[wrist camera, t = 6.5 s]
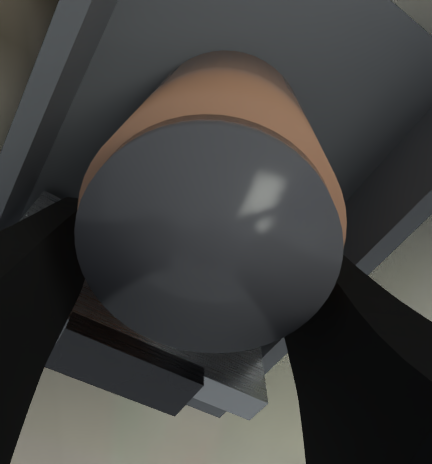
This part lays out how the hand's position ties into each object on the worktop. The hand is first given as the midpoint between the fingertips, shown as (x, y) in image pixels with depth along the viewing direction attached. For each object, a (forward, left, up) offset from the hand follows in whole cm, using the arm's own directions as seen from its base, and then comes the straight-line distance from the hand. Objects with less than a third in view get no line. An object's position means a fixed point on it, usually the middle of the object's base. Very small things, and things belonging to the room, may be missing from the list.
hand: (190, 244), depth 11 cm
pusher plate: (0, +3, -4) cm, 5 cm away
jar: (0, -2, -3) cm, 4 cm away
